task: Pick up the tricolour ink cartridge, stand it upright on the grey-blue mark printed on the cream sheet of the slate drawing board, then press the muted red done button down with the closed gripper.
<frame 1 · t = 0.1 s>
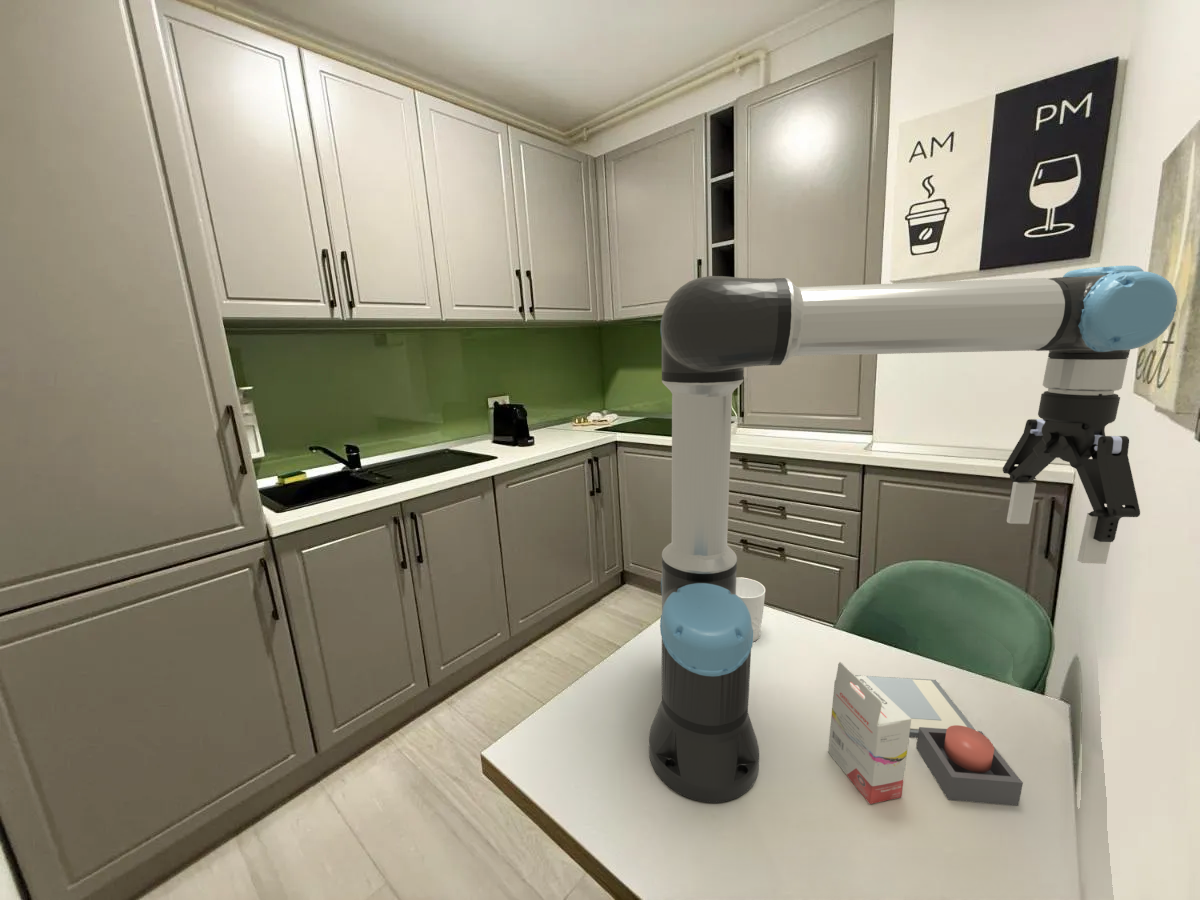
hand: (1050, 540, 69), 28 cm above the table, tool pointing down, fingers open, 13 cm apart
button housing: (963, 775, 65), on the table
ink cartridge box: (862, 774, 65), on the table
drawing board: (904, 707, 76), on the table
white cup: (741, 633, 97), on the table
done button: (968, 748, 64), point 4 cm above the table, slide at 0.0 cm
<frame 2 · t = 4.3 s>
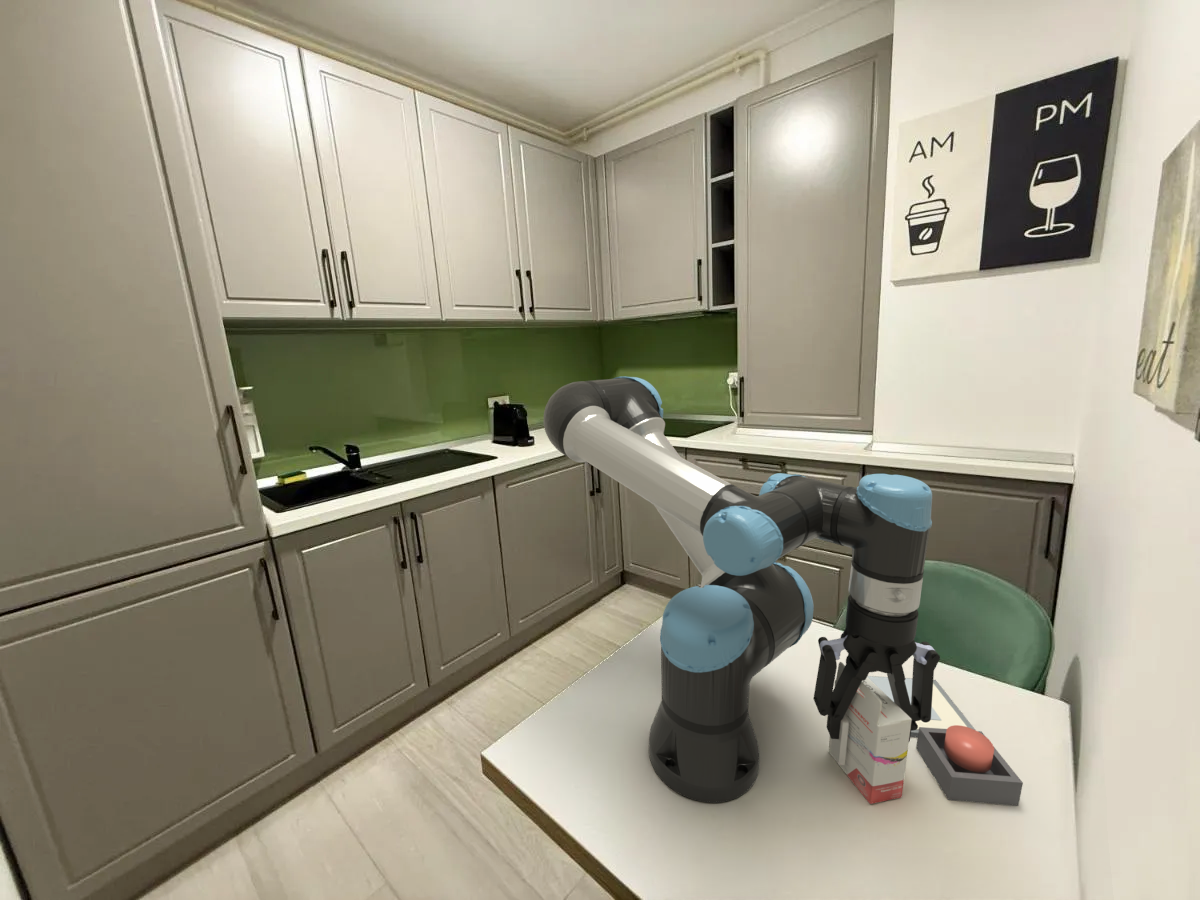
hand: (864, 758, 65), 2 cm above the table, tool pointing down, fingers closed on ink cartridge box, 6 cm apart
ink cartridge box: (863, 774, 65), on the table, touching gripper
everything else where it was.
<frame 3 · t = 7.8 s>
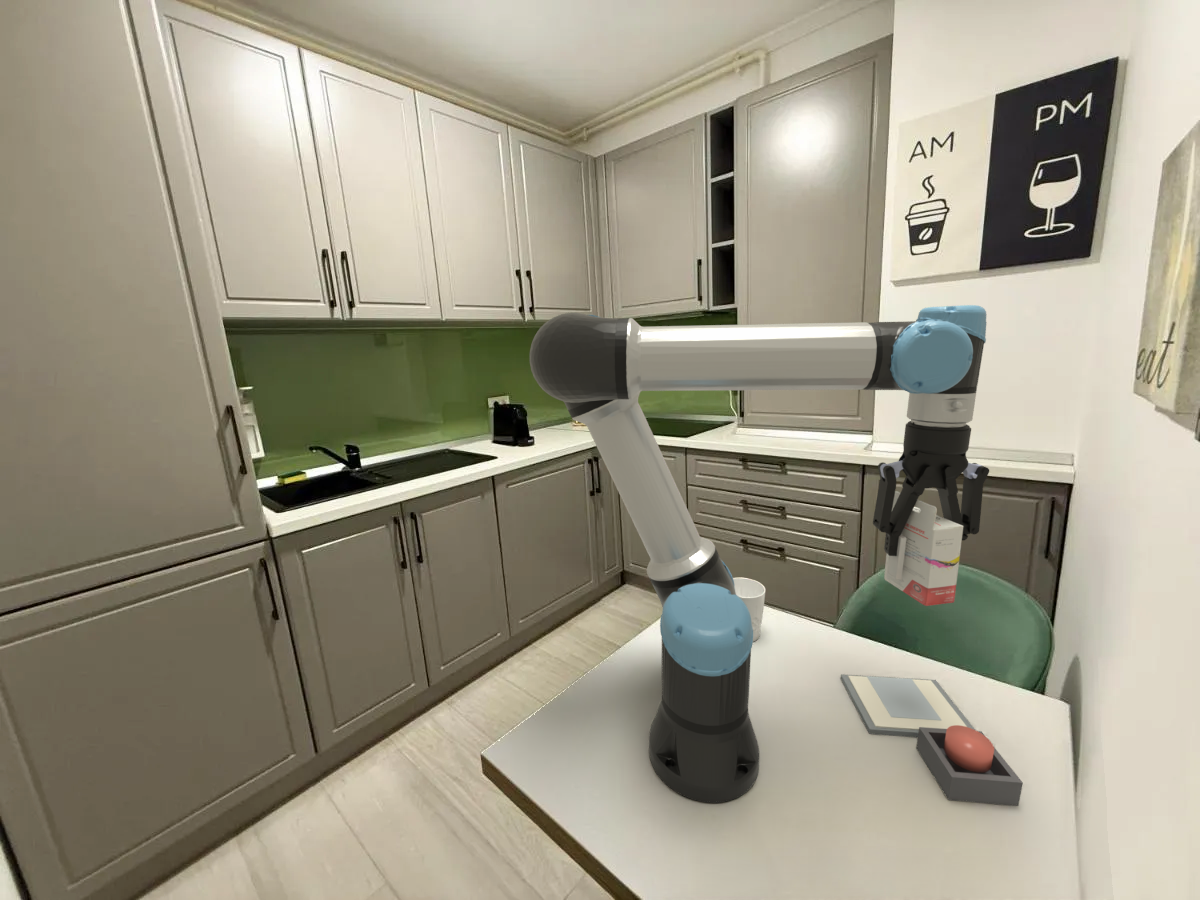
hand: (918, 575, 72), 22 cm above the table, tool pointing down, fingers closed on ink cartridge box, 6 cm apart
ink cartridge box: (917, 591, 73), point 19 cm above the table, touching gripper
everything else where it was.
when the fingers open (5 cm above the table, at t = 11.1 s): ink cartridge box drops 1 cm, resting on drawing board.
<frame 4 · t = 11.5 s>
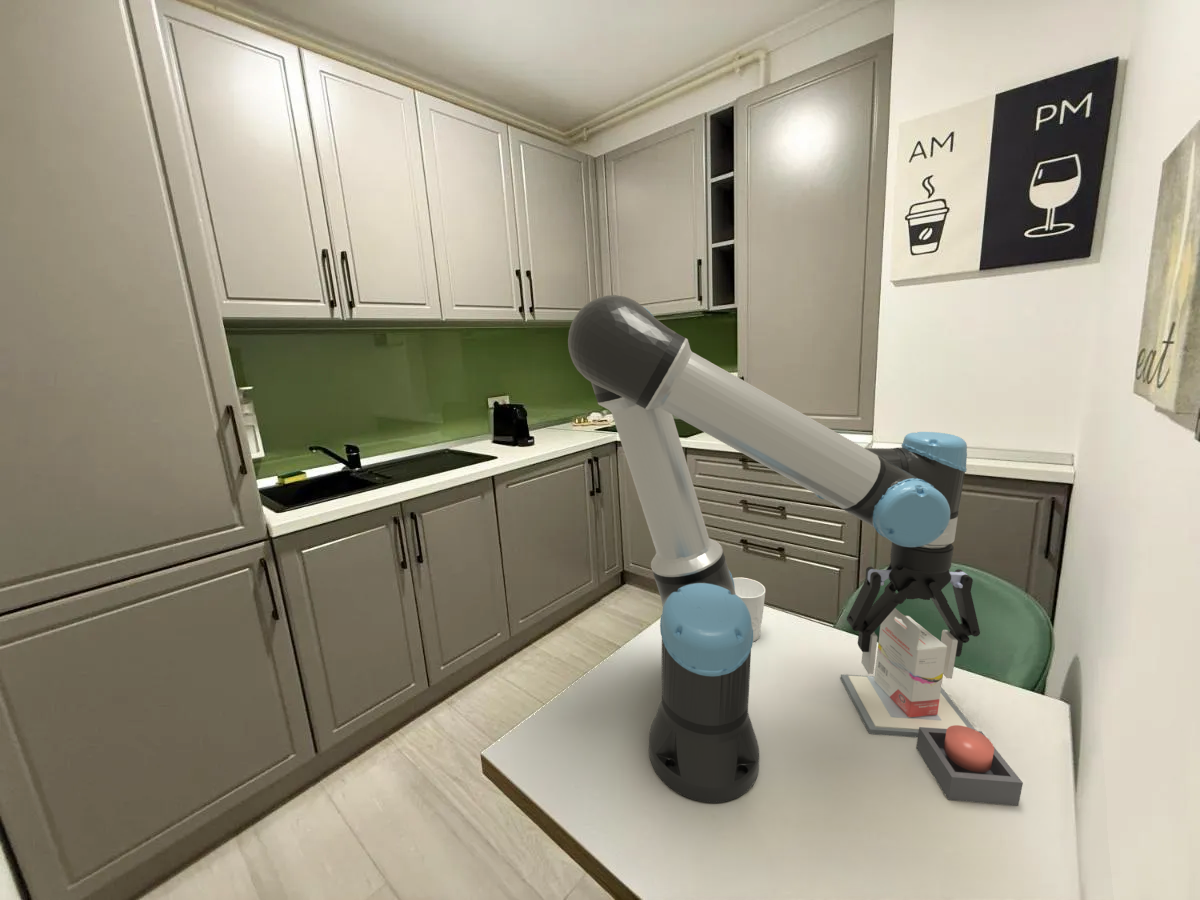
hand: (905, 670, 76), 6 cm above the table, tool pointing down, fingers open, 10 cm apart
ink cartridge box: (904, 698, 77), point 1 cm above the table, touching drawing board
everything else where it was.
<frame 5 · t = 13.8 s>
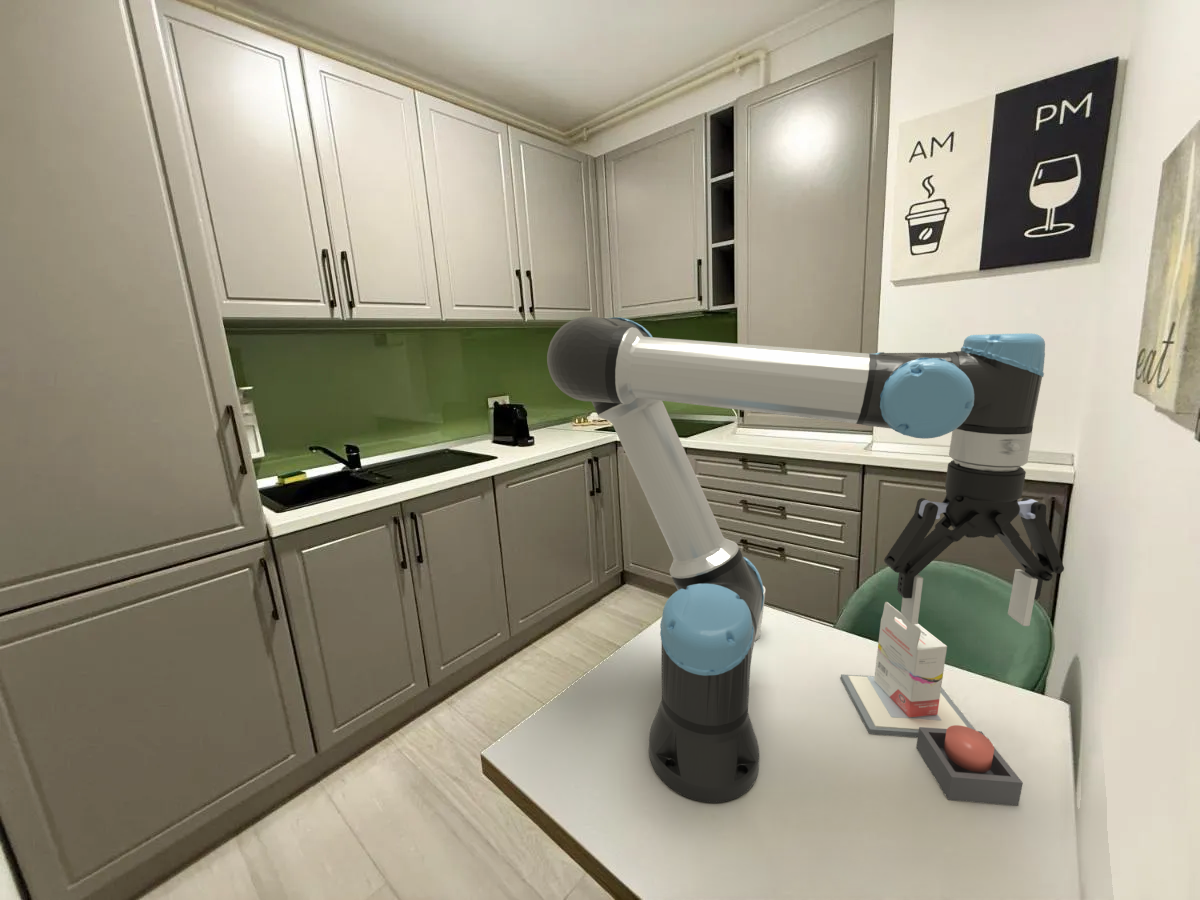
hand: (963, 619, 64), 20 cm above the table, tool pointing down, fingers open, 13 cm apart
nothing on the table moved.
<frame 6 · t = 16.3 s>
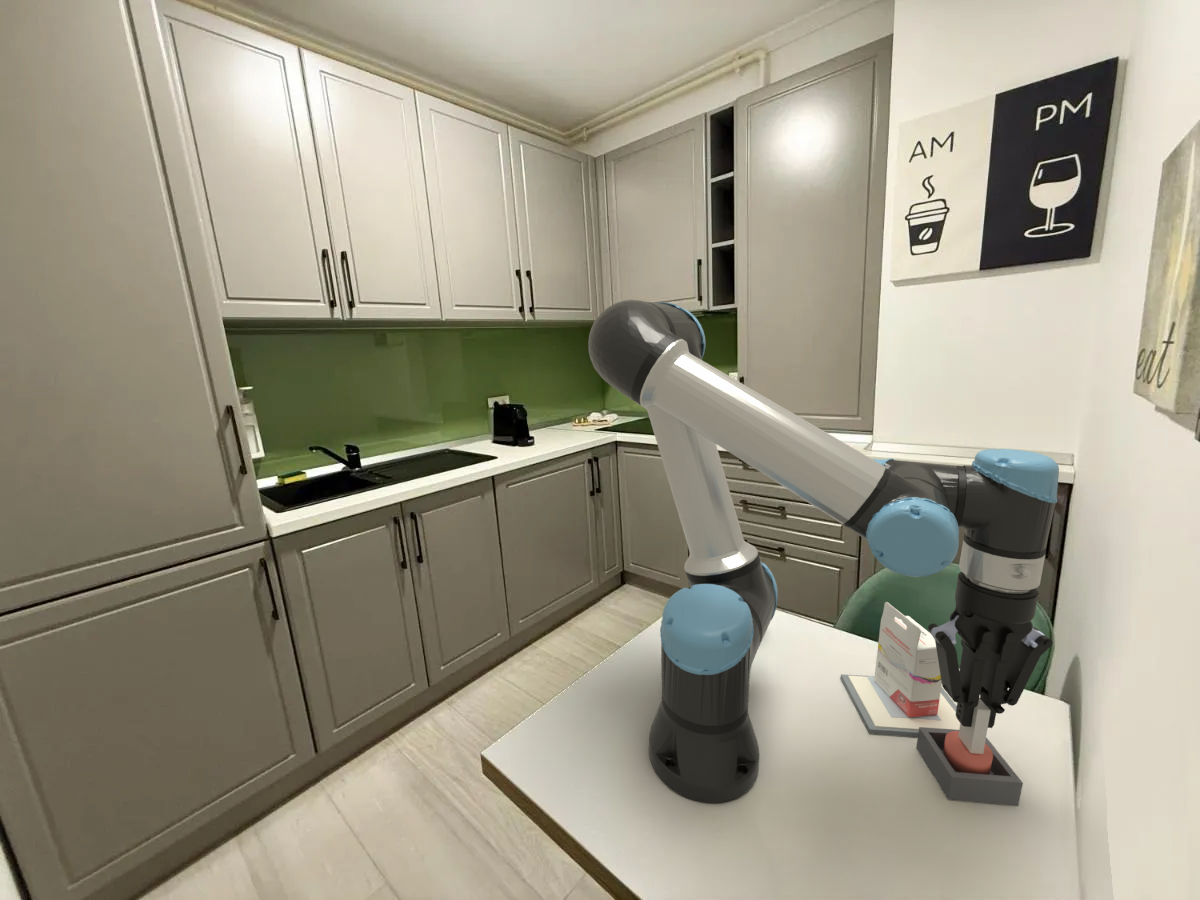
hand: (970, 744, 63), 5 cm above the table, tool pointing down, fingers closed
done button: (967, 754, 64), point 3 cm above the table, slide at 0.9 cm, touching gripper
everything else where it was.
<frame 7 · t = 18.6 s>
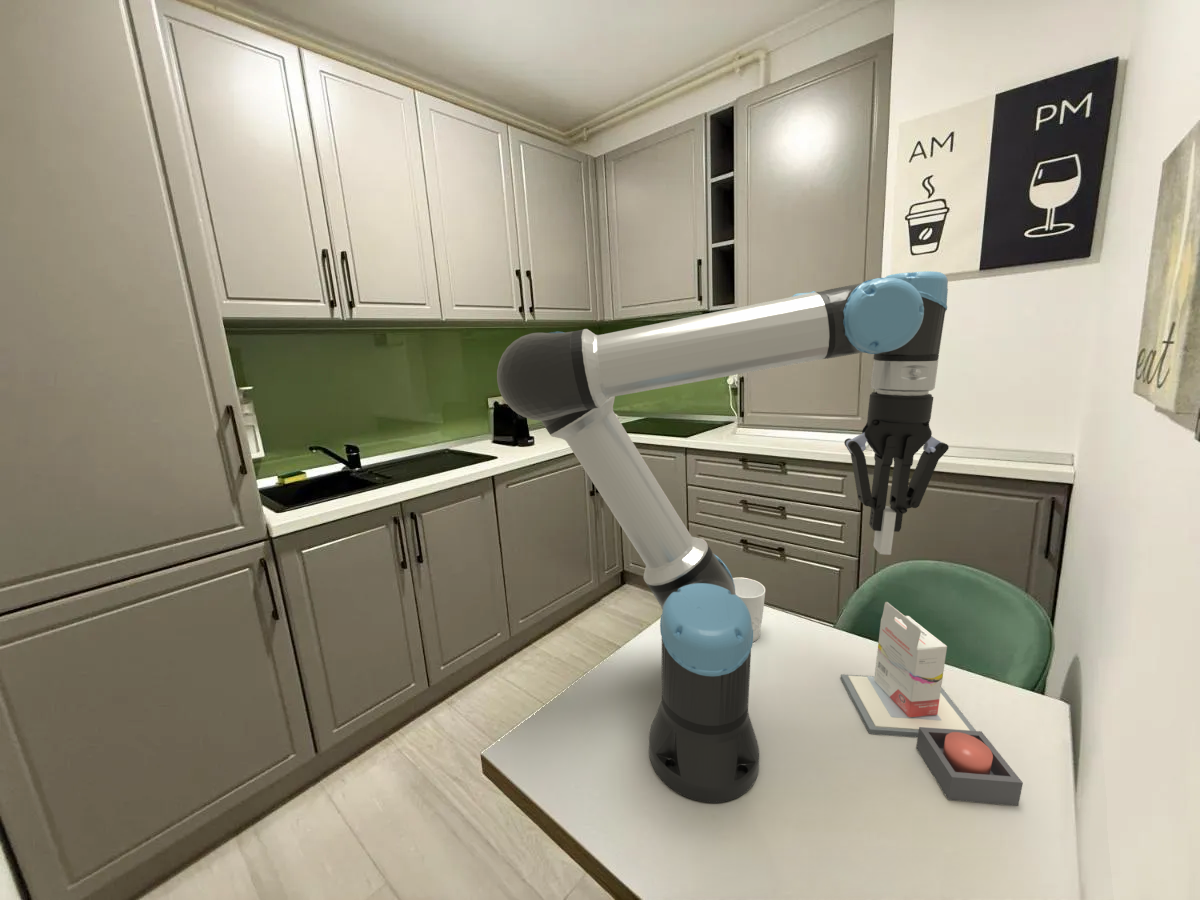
hand: (881, 550, 72), 26 cm above the table, tool pointing down, fingers closed
done button: (967, 755, 64), point 3 cm above the table, slide at 1.1 cm
everything else where it was.
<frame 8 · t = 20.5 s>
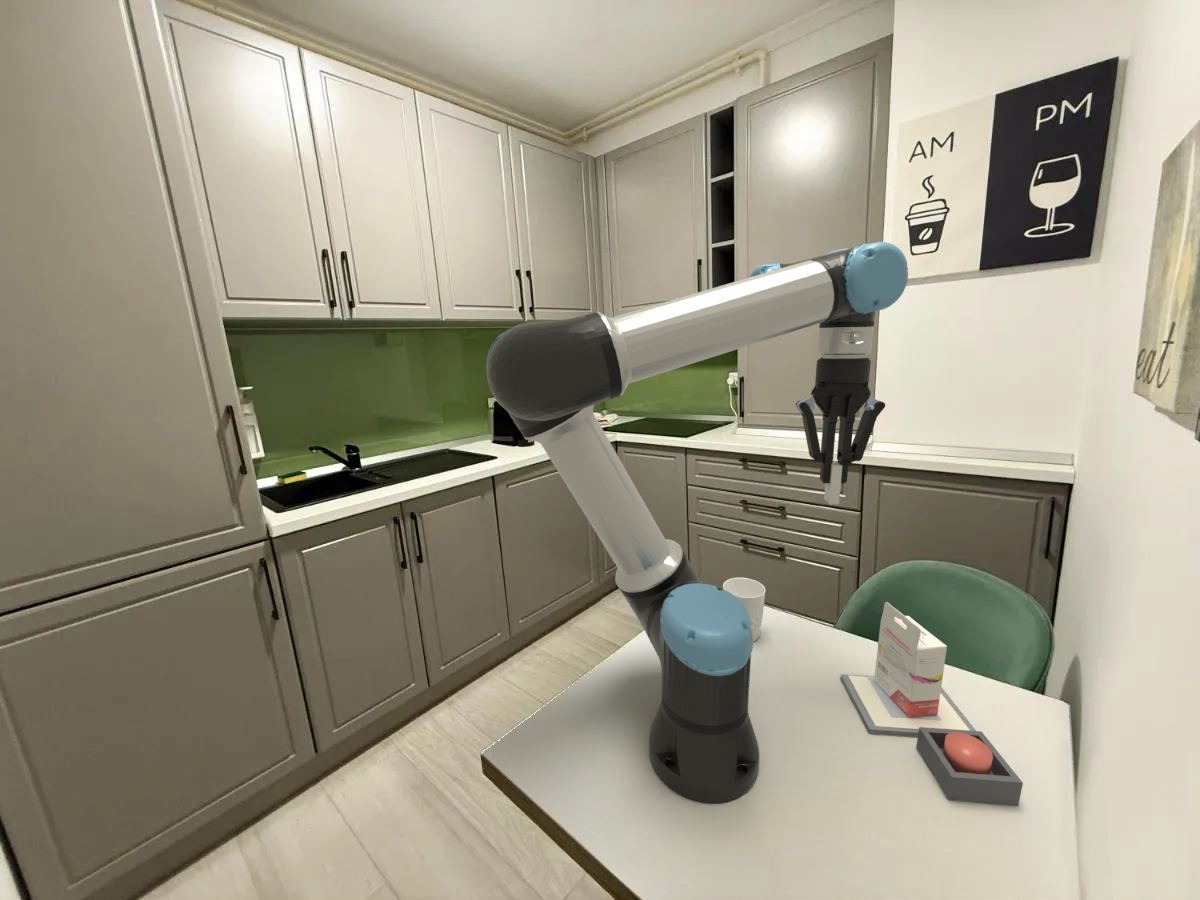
hand: (831, 501, 81), 30 cm above the table, tool pointing down, fingers closed
nothing on the table moved.
at the end: ink cartridge box 0.3 cm from the target spot, point 0.9 cm above the table; ink cartridge box tilted 0°; done button slide at 1.1 cm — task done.
